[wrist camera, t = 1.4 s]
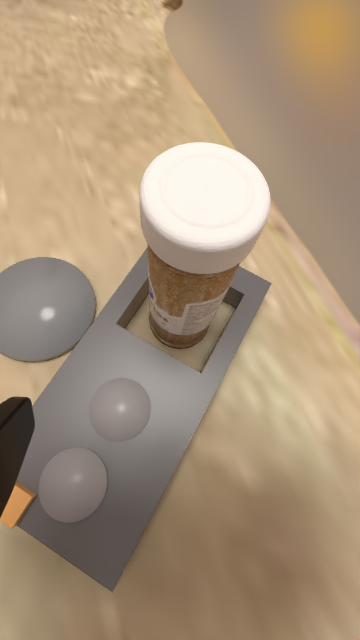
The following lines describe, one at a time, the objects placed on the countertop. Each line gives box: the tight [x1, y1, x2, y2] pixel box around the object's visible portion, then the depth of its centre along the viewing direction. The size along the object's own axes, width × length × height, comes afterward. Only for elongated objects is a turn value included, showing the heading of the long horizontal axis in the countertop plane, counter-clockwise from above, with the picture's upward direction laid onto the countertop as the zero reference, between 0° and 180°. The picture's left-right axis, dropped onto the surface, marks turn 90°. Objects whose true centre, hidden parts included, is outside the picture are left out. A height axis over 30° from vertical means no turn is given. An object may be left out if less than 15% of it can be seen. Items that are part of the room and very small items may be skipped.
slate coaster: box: [0, 257, 96, 362], centre depth 22 cm, size 8×8×1 cm
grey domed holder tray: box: [0, 248, 271, 592], centre depth 19 cm, size 20×9×3 cm, turn 150°
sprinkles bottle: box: [139, 142, 270, 348], centre depth 16 cm, size 5×5×13 cm
